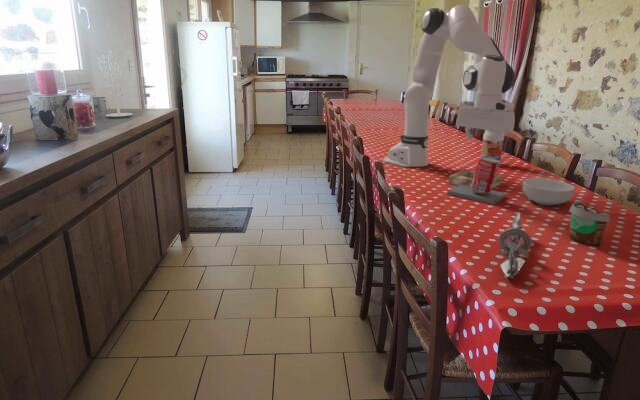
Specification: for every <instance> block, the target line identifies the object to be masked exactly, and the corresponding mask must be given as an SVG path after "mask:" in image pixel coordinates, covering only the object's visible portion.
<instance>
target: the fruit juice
mask: <svg viewBox="0 0 640 400" xmlns="http://www.w3.org/2000/svg"><path fill="white" fill-rule="evenodd" d="M497 135H498V134H496V131H492V130H484V133H483V135H482V136H483V137H482V145H481V153H480V158H481V157H483V156H485V157H491V158H494V159H496V160H498V166H499V165H500V164H501V159H502V153H503V146H504V139H505V134H504V132H502V135H501V136H500V137H499V138H498V141H497V143H496V144H494V143H492V138H495V137H496V136H497Z"/></svg>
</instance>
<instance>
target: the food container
mask: <svg viewBox="0 0 640 400" xmlns="http://www.w3.org/2000/svg"><path fill="white" fill-rule="evenodd" d="M569 212H570V213H571V217H570V226H569V239H570V240H571V241H573V242H576V243H578V244H581V245H585V244H586V245H585V246H590V245H595V246H594V247H600V245H601V242H602V239H603V237H604V233H605V230H606V227H607V224H608V223H609V222H610V221H611V220H610V215H611V214H610V213H601V212H600V211H598V210H597V209H595V208H593V207H589V206H587V205H585V204H583V200H579V201H575V202H572V205H571V206H570V208H569Z"/></svg>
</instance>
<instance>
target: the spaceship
mask: <svg viewBox="0 0 640 400" xmlns="http://www.w3.org/2000/svg"><path fill="white" fill-rule="evenodd" d="M521 214H522V213H520V212H518V213H516V215H515V216H514V219H513V222H512V224H511V228H510V227H509V228H507V229H505V230H503V231H502V232H501V234H499V237H498V244H499V246H498V247H499V248H498V252H499V253H500V254H501V255H503V256H504V257H505V258H506V260H505V261H503V262H502V263H501V264H499V265H500V267H501V270H502V271H503V274H505V275H506V277H507V278H511V279H514V277H515V276H516V275H517V274H518V272H520V270H521V268H522V267H523V265H525V263H526V260H525V259H524V258H522V257H519V255H522V256H524V257H526V258H527V259H530V258H529V252H528V251H529V250H530V248H531V246H532V237H531V235H530V234H529V233H528V232H526V230H524V229H522V221H521V218H522V215H521ZM521 238H522V239H521ZM507 239H508V240H507ZM522 242H523V243H522Z"/></svg>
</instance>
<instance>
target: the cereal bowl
mask: <svg viewBox="0 0 640 400" xmlns="http://www.w3.org/2000/svg"><path fill="white" fill-rule="evenodd" d="M522 191H523V193H524V194H525V195H524V196H526V197H527V198H529V199H530V200H532V201H533V202H534V203H536V204H538V205H543V206H557V205H560V204H564V203H567V202H568V201H569V200H571V198H572V197H573V195H574V192H575V186H574V185H572V184H570V183H568V182H564V181H561V180H556V179H552V178H543V177H531V178H526V179H523V182H522Z"/></svg>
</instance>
